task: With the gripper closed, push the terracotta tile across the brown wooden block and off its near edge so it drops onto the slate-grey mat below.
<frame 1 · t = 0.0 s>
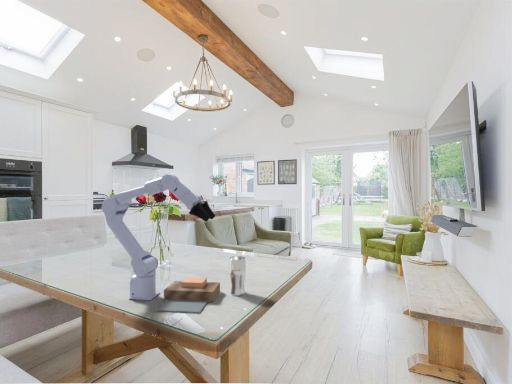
hand: (211, 218, 111), 32 cm above the table, tool tilted 50°, fingers open, 7 cm apart
tile: (194, 284, 116), point 4 cm above the table, touching brown wooden block
beer glass: (237, 293, 117), on the table
brown wooden block: (193, 295, 114), on the table
mat: (183, 306, 104), on the table
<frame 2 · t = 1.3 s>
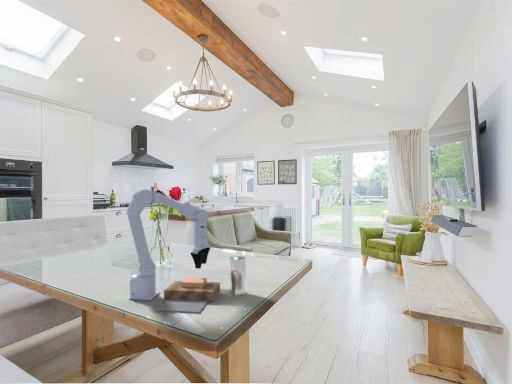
hand: (201, 265, 125), 10 cm above the table, tool pointing down, fingers open, 7 cm apart
nothing on the table moved.
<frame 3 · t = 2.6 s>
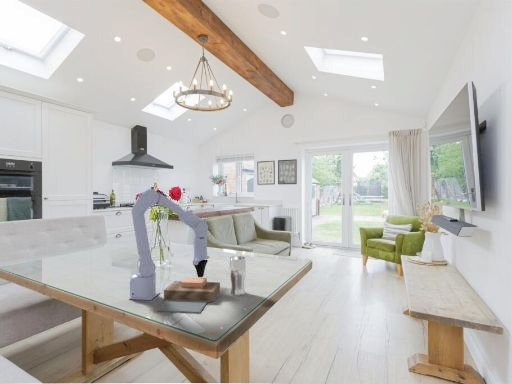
hand: (200, 276, 124), 5 cm above the table, tool pointing down, fingers closed
nothing on the table moved.
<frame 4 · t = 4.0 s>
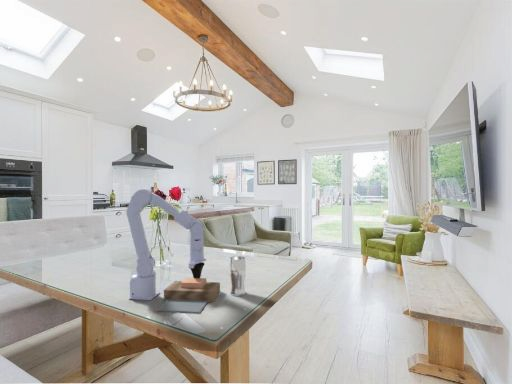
hand: (197, 280, 120), 5 cm above the table, tool pointing down, fingers closed
tile: (193, 285, 116), point 4 cm above the table, touching brown wooden block, gripper
everything else where it was.
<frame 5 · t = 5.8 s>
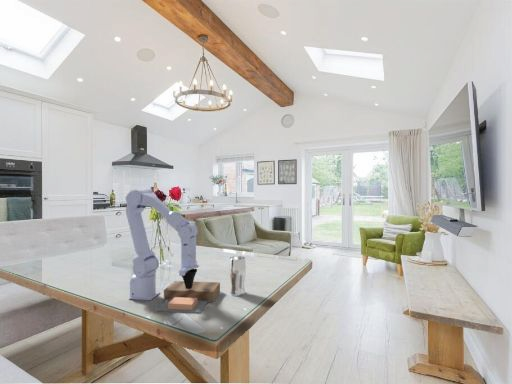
hand: (188, 288, 110), 5 cm above the table, tool pointing down, fingers closed
tile: (183, 300, 103), point 2 cm above the table, tilted 180°, touching mat
everything else where it was.
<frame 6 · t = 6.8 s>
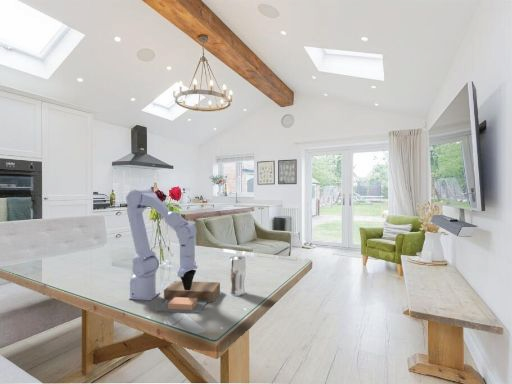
hand: (187, 289, 108), 5 cm above the table, tool pointing down, fingers closed
nothing on the table moved.
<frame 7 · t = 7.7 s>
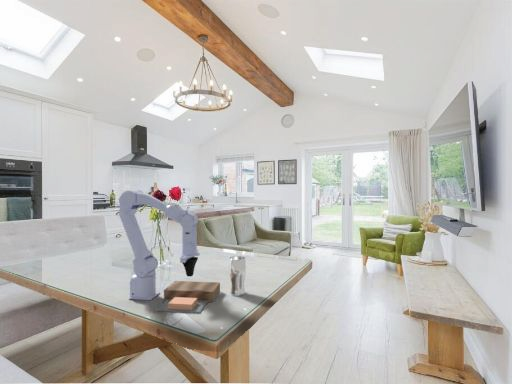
hand: (189, 275, 113), 9 cm above the table, tool pointing down, fingers closed
nothing on the table moved.
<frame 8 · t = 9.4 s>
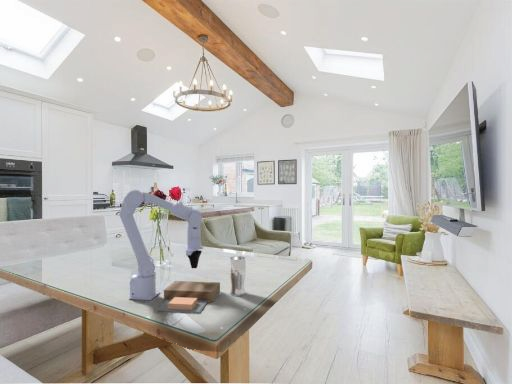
hand: (194, 267, 122), 9 cm above the table, tool pointing down, fingers closed
nothing on the table moved.
at the end: tile inside the target area (1.1 cm from its centre), point 2.5 cm above the table; tile moved 12.9 cm from its start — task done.
